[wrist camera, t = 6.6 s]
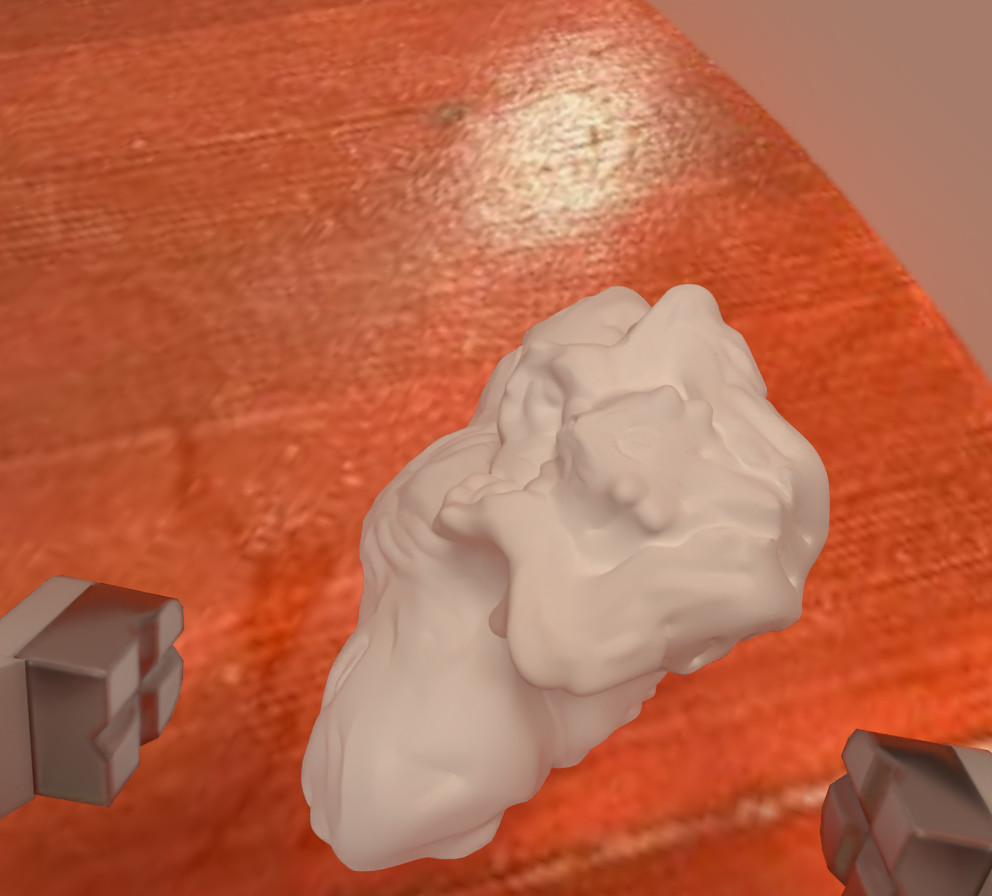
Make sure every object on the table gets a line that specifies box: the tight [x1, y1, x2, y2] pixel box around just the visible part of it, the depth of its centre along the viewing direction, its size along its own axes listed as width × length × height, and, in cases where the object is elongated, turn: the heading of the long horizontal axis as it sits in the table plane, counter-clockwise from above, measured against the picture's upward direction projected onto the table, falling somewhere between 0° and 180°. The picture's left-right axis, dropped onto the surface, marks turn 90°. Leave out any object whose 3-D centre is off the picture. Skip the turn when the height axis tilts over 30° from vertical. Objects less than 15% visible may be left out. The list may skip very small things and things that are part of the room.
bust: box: [301, 284, 830, 871], centre depth 15 cm, size 12×8×11 cm
